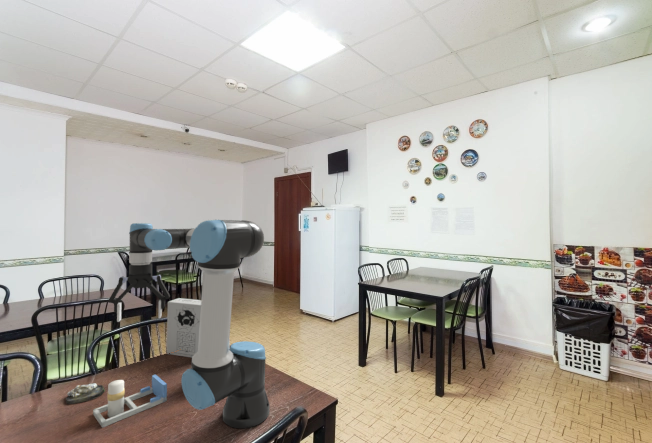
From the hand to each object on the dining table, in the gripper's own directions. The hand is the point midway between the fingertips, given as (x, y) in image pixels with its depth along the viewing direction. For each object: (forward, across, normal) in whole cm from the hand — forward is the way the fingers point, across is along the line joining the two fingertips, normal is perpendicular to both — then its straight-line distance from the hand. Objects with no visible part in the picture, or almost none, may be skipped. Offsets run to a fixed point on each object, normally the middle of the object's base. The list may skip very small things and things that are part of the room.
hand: (139, 319), depth 118 cm
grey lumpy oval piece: (+26, +17, 0) cm, 31 cm away
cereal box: (+26, -17, -26) cm, 40 cm away
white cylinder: (+26, +4, +16) cm, 31 cm away
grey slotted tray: (+26, 0, +14) cm, 29 cm away
